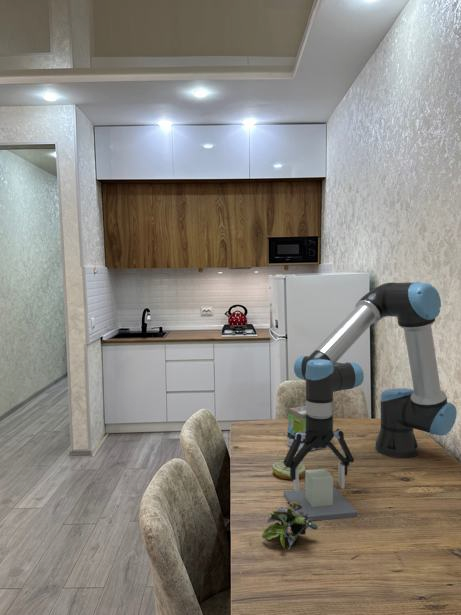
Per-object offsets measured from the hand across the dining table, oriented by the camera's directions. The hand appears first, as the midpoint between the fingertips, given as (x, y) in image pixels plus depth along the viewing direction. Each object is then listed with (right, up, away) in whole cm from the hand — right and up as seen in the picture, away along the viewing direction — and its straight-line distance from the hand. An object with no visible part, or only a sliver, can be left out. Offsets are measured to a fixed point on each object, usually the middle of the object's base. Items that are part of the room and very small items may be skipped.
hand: (318, 488), depth 134 cm
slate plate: (0, -5, 0) cm, 5 cm away
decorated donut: (-6, -4, +22) cm, 23 cm away
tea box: (+6, -2, +48) cm, 48 cm away
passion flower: (-11, -6, -19) cm, 23 cm away
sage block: (0, -4, 0) cm, 4 cm away
